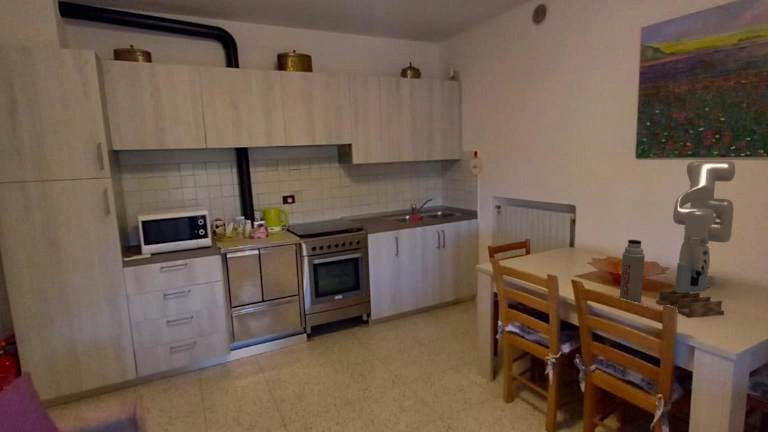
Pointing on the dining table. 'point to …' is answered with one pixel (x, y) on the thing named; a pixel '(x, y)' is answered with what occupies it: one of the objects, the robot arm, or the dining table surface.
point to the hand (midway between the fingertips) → (690, 284)
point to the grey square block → (688, 279)
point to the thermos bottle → (632, 272)
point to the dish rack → (690, 304)
